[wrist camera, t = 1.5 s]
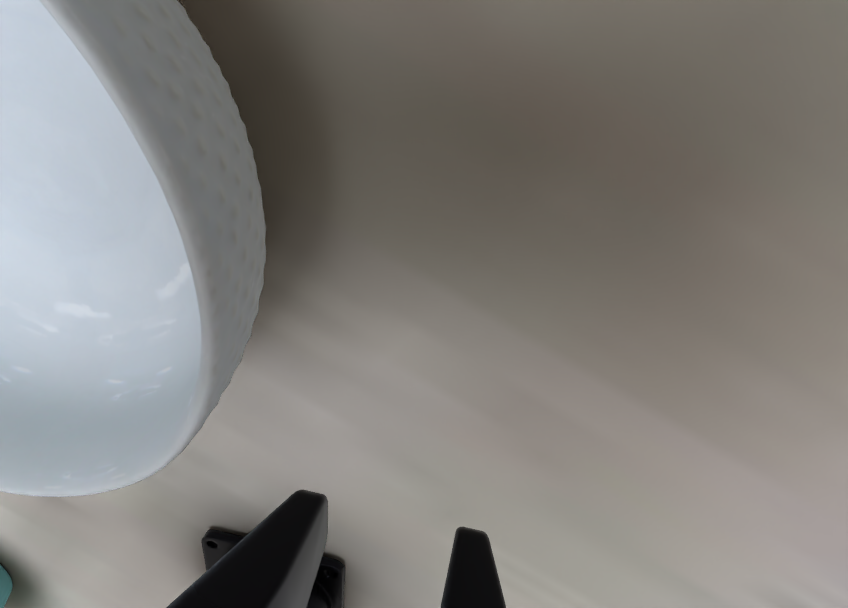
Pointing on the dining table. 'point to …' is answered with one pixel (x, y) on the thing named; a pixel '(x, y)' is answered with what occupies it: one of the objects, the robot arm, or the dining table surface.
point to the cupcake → (4, 586)
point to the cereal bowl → (117, 241)
